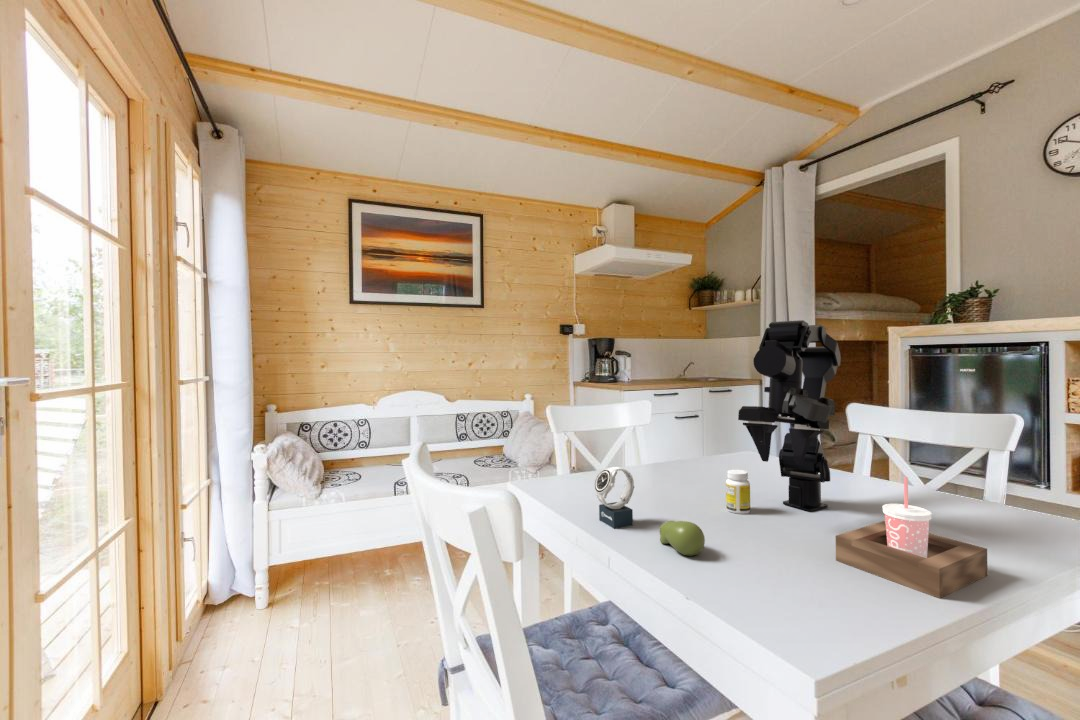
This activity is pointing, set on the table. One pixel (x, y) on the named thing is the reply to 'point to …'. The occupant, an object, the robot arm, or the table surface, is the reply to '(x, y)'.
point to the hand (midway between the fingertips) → (782, 462)
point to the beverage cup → (907, 526)
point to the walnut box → (913, 560)
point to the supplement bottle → (738, 492)
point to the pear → (683, 537)
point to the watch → (616, 511)
